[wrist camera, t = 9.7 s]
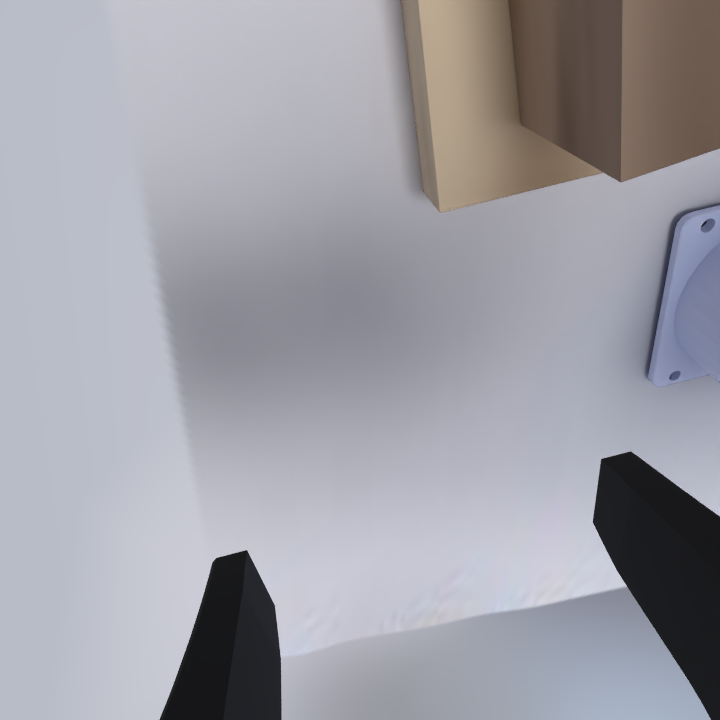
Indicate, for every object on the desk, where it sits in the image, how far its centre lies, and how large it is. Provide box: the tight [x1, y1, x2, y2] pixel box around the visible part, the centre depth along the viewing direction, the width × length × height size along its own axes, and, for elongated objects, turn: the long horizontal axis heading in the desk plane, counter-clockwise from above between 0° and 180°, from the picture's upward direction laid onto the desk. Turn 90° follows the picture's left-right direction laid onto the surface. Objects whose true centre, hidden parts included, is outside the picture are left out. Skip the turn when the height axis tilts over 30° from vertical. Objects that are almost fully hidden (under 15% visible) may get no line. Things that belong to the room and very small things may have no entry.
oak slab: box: [401, 0, 603, 213], centre depth 15 cm, size 8×8×2 cm
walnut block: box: [509, 0, 720, 182], centre depth 12 cm, size 4×4×5 cm
